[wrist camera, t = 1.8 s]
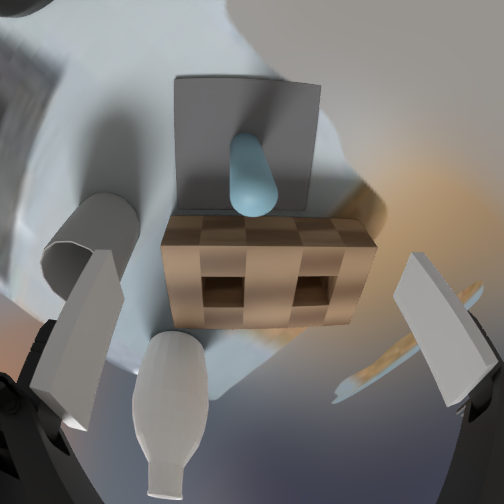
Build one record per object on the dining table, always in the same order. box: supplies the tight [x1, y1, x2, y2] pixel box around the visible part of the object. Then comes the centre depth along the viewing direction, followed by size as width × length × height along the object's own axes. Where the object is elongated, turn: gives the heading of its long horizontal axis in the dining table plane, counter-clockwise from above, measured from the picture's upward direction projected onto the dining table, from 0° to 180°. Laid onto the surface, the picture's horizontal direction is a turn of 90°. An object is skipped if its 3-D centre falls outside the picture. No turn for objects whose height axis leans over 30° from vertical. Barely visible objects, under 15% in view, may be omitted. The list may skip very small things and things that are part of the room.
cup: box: [40, 192, 140, 302], centre depth 28 cm, size 8×8×10 cm
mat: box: [174, 78, 321, 211], centre depth 28 cm, size 14×14×1 cm
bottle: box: [132, 331, 209, 500], centre depth 35 cm, size 11×11×25 cm
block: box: [161, 216, 378, 329], centre depth 34 cm, size 12×22×6 cm, turn 87°
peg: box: [230, 133, 278, 217], centre depth 23 cm, size 3×3×12 cm
